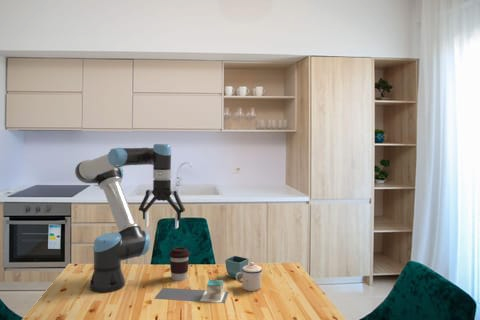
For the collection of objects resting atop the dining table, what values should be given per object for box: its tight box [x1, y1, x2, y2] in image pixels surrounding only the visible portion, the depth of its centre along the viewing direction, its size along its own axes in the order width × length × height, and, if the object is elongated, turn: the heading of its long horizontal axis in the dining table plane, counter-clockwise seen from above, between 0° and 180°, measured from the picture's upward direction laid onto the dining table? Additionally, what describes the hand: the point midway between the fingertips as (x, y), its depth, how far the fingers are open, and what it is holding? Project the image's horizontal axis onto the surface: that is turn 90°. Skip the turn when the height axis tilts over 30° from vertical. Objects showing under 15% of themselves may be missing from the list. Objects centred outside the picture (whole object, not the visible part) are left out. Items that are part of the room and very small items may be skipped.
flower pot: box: [224, 255, 250, 280], centre depth 191 cm, size 9×9×9 cm
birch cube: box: [206, 279, 224, 300], centre depth 165 cm, size 6×6×6 cm
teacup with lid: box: [235, 261, 263, 292], centre depth 177 cm, size 12×9×12 cm
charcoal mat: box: [153, 287, 230, 304], centre depth 166 cm, size 30×12×1 cm, turn 84°
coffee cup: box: [168, 246, 191, 282], centre depth 186 cm, size 10×10×15 cm
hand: (161, 227), depth 170 cm, fingers open, 13 cm apart
